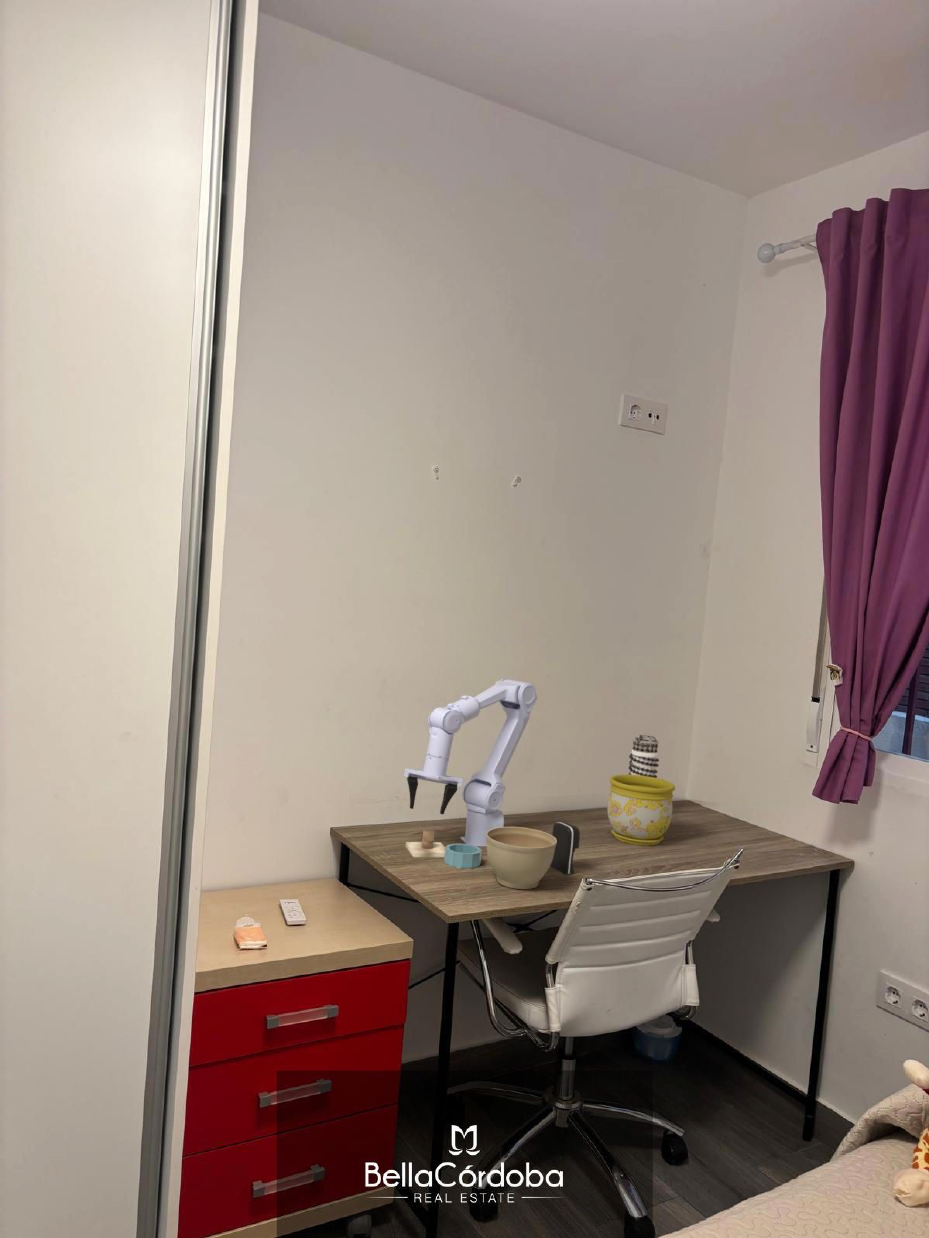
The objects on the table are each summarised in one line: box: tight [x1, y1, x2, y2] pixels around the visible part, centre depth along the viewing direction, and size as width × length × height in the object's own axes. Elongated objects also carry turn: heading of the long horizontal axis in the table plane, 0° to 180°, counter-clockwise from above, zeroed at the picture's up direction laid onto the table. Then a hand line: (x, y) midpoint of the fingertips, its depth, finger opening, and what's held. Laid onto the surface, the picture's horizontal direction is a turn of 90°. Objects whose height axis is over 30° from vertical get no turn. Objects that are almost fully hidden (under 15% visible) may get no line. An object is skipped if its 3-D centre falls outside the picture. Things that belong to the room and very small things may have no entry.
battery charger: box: [549, 821, 581, 875], centre depth 227 cm, size 7×4×11 cm, turn 32°
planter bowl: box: [486, 826, 557, 890], centre depth 214 cm, size 16×16×11 cm
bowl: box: [443, 843, 483, 870], centre depth 224 cm, size 8×8×4 cm
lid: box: [405, 829, 446, 858], centre depth 230 cm, size 9×9×5 cm
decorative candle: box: [627, 734, 660, 778], centre depth 289 cm, size 9×9×25 cm
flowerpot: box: [607, 774, 676, 847], centre depth 262 cm, size 18×18×16 cm
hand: (426, 810), depth 231 cm, fingers open, 7 cm apart
